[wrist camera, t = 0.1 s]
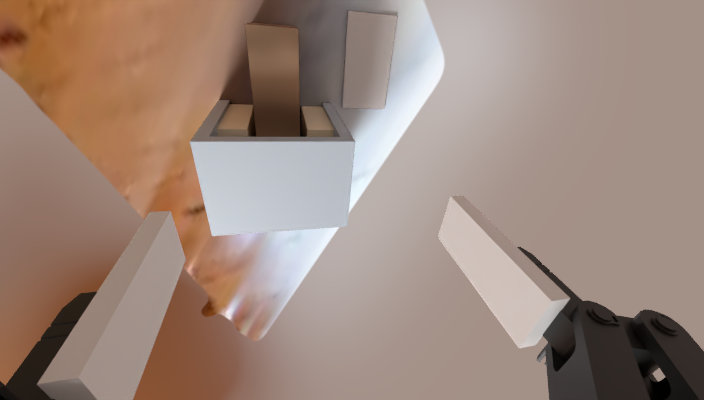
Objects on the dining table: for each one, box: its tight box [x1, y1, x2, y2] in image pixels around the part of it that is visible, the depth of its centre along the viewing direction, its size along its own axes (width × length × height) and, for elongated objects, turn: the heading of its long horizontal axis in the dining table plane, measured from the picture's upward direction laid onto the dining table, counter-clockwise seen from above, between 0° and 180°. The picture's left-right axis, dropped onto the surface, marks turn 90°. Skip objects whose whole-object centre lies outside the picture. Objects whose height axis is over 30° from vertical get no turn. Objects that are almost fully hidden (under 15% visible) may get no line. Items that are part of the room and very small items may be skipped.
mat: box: [342, 11, 397, 109], centre depth 36 cm, size 11×6×1 cm, turn 175°
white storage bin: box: [190, 100, 355, 236], centre depth 33 cm, size 10×14×14 cm
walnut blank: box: [245, 22, 300, 137], centre depth 32 cm, size 14×4×9 cm, turn 175°
